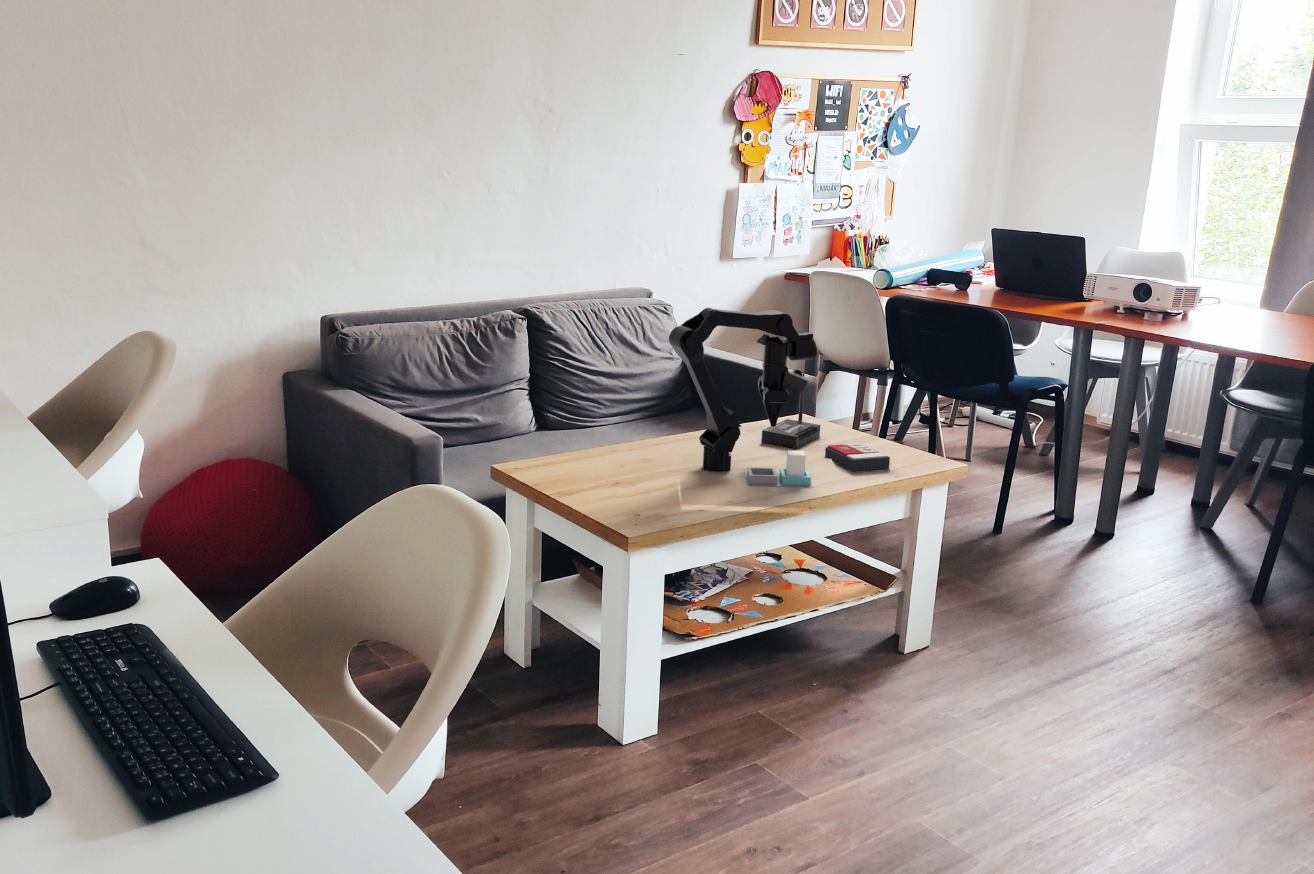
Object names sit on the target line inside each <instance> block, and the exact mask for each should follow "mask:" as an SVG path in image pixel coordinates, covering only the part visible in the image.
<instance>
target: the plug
mask: <svg viewBox="0 0 1314 874" xmlns="http://www.w3.org/2000/svg"><path fill="white" fill-rule="evenodd" d="M806 458H807V456H806V453H805V451H804V450H786V464H785V465H786V466H785V468H786V476H804V474H805V469H806Z"/></svg>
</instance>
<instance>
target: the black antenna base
mask: <svg viewBox="0 0 1314 874" xmlns="http://www.w3.org/2000/svg"><path fill="white" fill-rule="evenodd" d="M802 376H805V373H804V372H802ZM804 393H805V391H804V392H800V394H799V395H800V396H799V404H798V405H799V406H798V418H797V420H794V419H790V418H786V419H783V420H782V421H780V422H777V423H776V426H775V427H772V426H771V425H770V426H769V427H766V428H764V429H762V430H761V441H760V443H761V444H765V445H769V446H770V445H771V446H775V447H780V448H785V449H791V450H794V451H797V449H799V448H801V447H803V446H806V445H807V444H809V443H811V442H813V441H815V440H817V439H819V438H820V437H821V424H819V423H811V422H806V421H803V413H804Z"/></svg>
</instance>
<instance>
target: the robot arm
mask: <svg viewBox="0 0 1314 874" xmlns="http://www.w3.org/2000/svg"><path fill="white" fill-rule="evenodd" d="M793 324H794V323H793V318H792V317H791V315H790V314H788V313H785V312H783V311H779V310H777V309H769V310H766V309H765V310H760V311H756V312H747V311H738V310H728V309H727V310H726V309H716V308H713V307H705V308H704V309H702V310H701V311H700V312H699V313H698V314H696V315H694V316H692V317H690V318H689V319H687V320H685V321H684V322H683V323H682V324H681V325H678V326H676V327H674V328H673V329H672V330H671V331H670V334H669V336H668V342H669V344H670V346H671V347H672V350H674V352H675V353H676V354H677V356H678V357H679V359H681V360H682V361H683V363H684V364H685V366H686V367H687V370H688V373H689V375H690V377H691V379H692V381H693V384H694V387H695V388H696V391H697V394H698V395H699V398H700V401H701V403H702V405H703V407H704V410H705V413H706V420H705V421H706V427H707V428H705V430H704V431H703V433H702V434H701V435H699V437H698V438H699V439H698V440H699V442H700V445H701V446H703V452H702V470H703V471H707V472H711V473H713V472H714V473H722V472H729V471H731V468H732V467H731V465H732V452H733V450H734V448H735V445H736V442H737V441H738V440H739V438H740V435H741V429H740V428H741V427H742V425H741V424H740V423H739V421H738V417H737V416H738V415H736V412H735V411H732V410H731V409H729V408H728V407H727V408H726V407H724V404H723V402H722V400H721V397H720V395H719V392H718V391H717V388H716V385H715V384H714V380H713V378H712V376H711V373H710V371H709V369H708V367H707V365H706V362H705V359H704V356H705V348H704V342H705V341H707V339H708V338H709V337H710V335H711V334H712V333H713V331H714V329H715V328H717V327H728V328H740V329H749V330H750V329H751V330H758V331H761V332H765V333H763V334H762V336H761V337H759V338H758V339H757V340H756V343H757V344H760V345H762V346H764V348H763V349H764V351H763V353H764V354H763V362H762V375H761V376H759V377H758V381H757V387H758V391H759V394H760V398H761V401H762V404H763V406H764V411H765V414H766V416H767V418H768V421H769V424H770V427H771V426H772V427H775V426H776V424H777V423H778V420H779V416H780V413H781V410H782V409H783V407H785V406H786V405H788V404H789V403H790V402H791V401H790V399H791V397H790V396H791V394H790V392H789V391H788V390H787V389H788V387H789V388H792V389H795V390H798V392H800V393H801V392H804V393H805V391H806V388H807V386H808V384H809V382H810V381H809V379H808V378H807V377H806V376H805V375H804V376H802V375H803V371H802V370H801V369H798V368H795V369H794V370H792V371H791V370H790V371H789V368H788V364H787V363H788V359H789V360H790V361H791V362H792V361H806V360H815V358H816V356H817V353H818V347H817V344H816V340H815V339H814V334H813V333H811V332H803V333H798V331H797V330H796V328H795V326H794V325H793ZM766 333H768V334H770V335H775V336H770V335H768V334H766ZM782 337H783V338H785V339H782Z"/></svg>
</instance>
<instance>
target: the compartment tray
mask: <svg viewBox="0 0 1314 874" xmlns="http://www.w3.org/2000/svg"><path fill="white" fill-rule="evenodd" d="M744 479H745V483H746V486H749V487H751V486H752V487H754V486H756V487H778V488H779V487H781V488H783V487H784V488H785V487H787V488H808V489H809V488H814V485H813V483H812V476H811V473H810V472H809V470H808V469H807V468H805V474H804V476H786V467H785V468H784V467H783V468H781V467H779V473H777V470H776V468H775V467H760V466H759V467H757V466H756V467H752V466H751V467H750V466H747V468H746V472H744Z"/></svg>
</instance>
